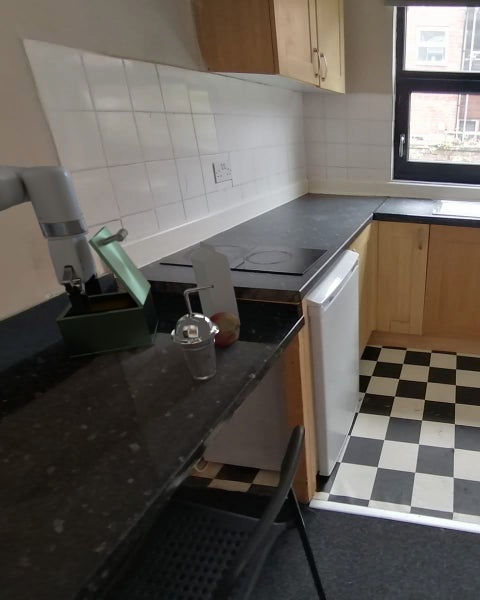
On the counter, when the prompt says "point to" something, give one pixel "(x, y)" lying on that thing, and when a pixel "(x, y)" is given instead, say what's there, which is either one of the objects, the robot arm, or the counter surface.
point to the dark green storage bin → (109, 325)
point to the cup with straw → (197, 340)
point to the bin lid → (120, 263)
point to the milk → (214, 281)
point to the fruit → (226, 329)
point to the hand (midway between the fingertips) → (89, 302)
